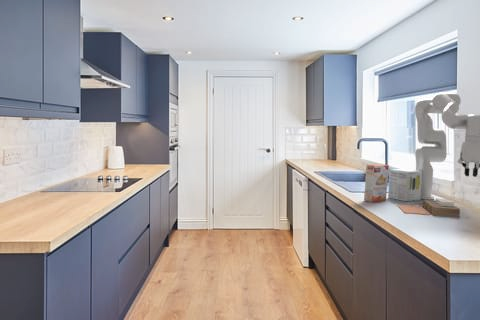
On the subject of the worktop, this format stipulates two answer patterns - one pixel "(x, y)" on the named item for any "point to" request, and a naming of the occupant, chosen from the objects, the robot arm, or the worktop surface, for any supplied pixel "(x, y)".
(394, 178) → the supplement box
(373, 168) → the cracker box
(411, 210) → the rubber mat
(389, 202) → the worktop surface
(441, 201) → the ceramic tile
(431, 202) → the walnut block
